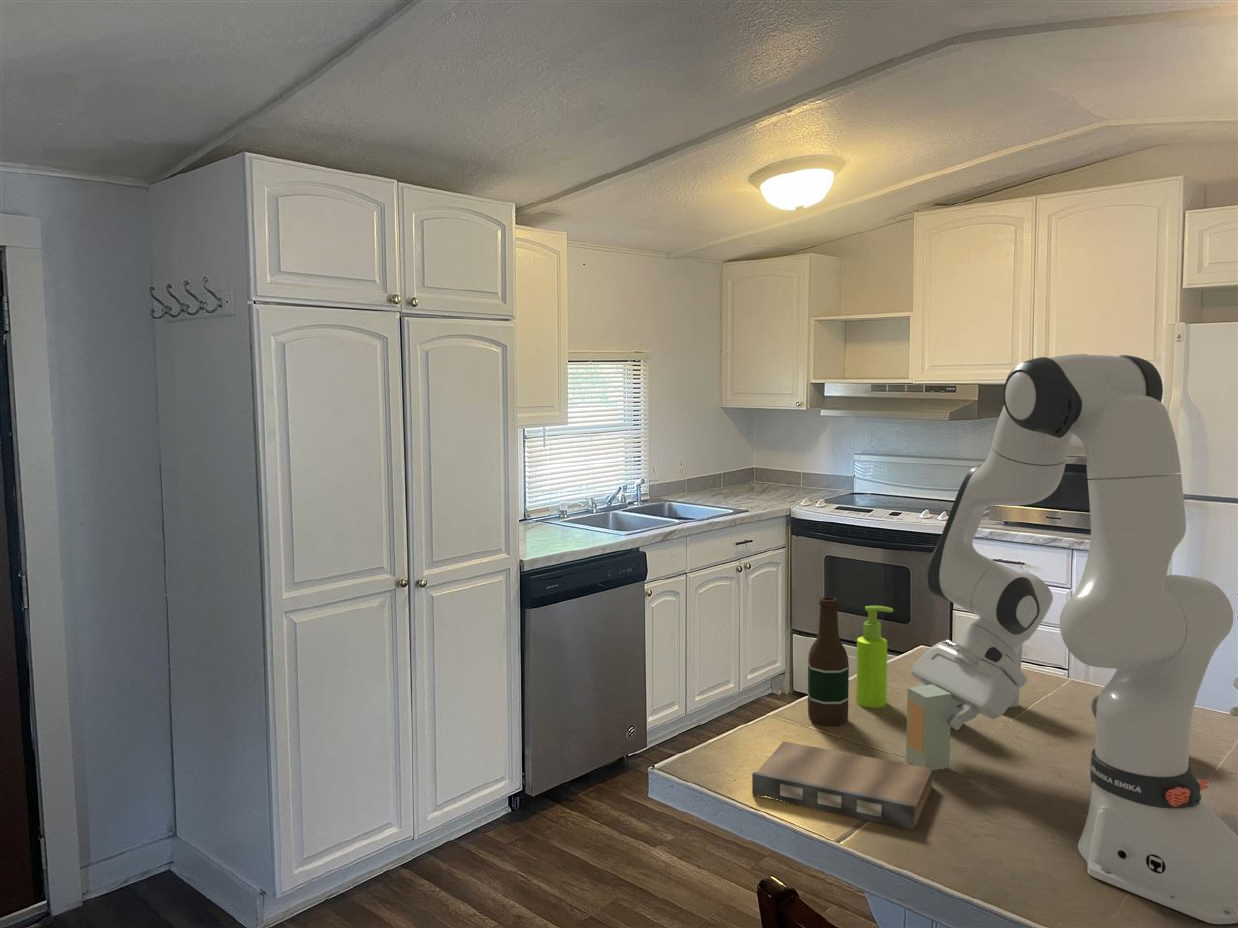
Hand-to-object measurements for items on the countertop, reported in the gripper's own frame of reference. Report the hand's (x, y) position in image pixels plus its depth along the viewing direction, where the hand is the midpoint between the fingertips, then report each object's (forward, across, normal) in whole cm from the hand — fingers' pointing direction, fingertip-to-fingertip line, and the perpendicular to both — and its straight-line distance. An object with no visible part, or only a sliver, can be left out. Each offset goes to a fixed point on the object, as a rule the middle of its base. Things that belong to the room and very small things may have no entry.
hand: (933, 716), depth 156 cm
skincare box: (-15, -20, +27) cm, 37 cm away
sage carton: (+7, 0, +5) cm, 8 cm away
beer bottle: (+10, -23, +2) cm, 26 cm away
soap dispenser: (+1, -28, +11) cm, 30 cm away
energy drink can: (-4, -14, +16) cm, 21 cm away
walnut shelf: (+20, +4, -8) cm, 22 cm away
